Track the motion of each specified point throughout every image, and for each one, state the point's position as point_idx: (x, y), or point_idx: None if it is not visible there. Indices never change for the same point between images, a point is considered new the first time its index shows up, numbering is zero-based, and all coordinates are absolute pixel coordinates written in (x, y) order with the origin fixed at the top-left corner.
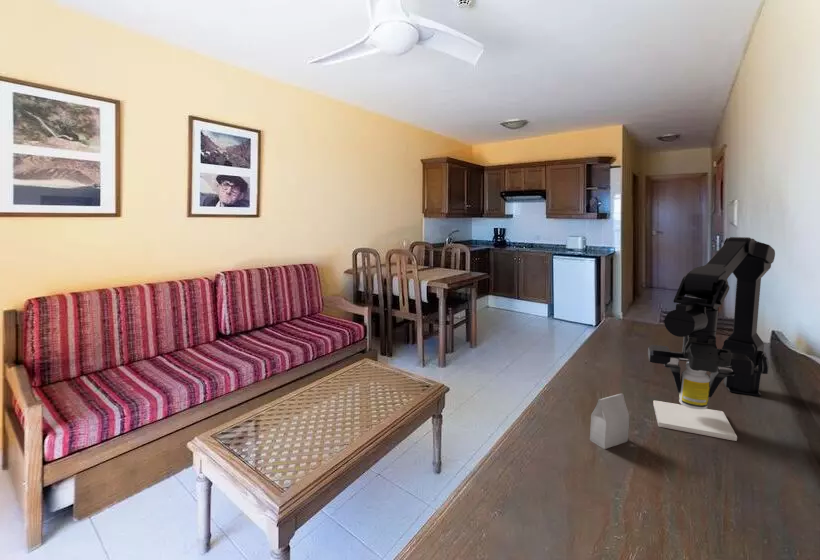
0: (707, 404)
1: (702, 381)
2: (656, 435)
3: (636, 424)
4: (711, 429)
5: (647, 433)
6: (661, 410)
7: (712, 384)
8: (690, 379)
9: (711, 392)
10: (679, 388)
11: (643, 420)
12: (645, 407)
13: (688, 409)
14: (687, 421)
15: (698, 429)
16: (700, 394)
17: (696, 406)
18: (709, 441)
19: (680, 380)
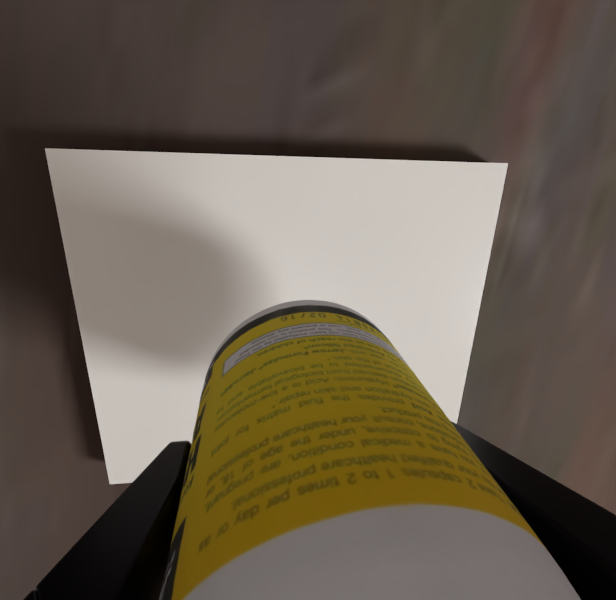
0: (208, 371)
1: (310, 554)
2: (537, 16)
3: (604, 137)
4: (202, 196)
5: (582, 25)
6: (443, 346)
7: (122, 586)
8: (518, 542)
9: (159, 478)
10: (473, 445)
11: (547, 213)
12: (488, 383)
13: None
14: (329, 257)
15: (284, 157)
16: (293, 372)
17: (302, 305)
18: (229, 67)
19: (554, 526)
